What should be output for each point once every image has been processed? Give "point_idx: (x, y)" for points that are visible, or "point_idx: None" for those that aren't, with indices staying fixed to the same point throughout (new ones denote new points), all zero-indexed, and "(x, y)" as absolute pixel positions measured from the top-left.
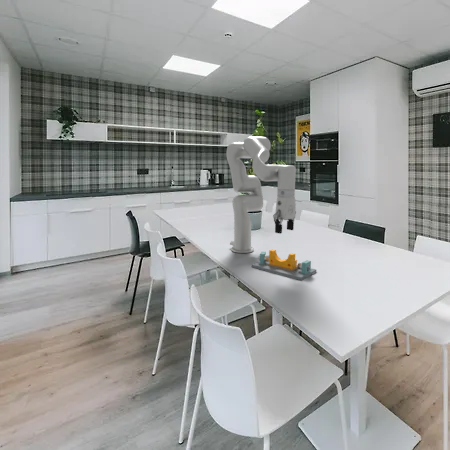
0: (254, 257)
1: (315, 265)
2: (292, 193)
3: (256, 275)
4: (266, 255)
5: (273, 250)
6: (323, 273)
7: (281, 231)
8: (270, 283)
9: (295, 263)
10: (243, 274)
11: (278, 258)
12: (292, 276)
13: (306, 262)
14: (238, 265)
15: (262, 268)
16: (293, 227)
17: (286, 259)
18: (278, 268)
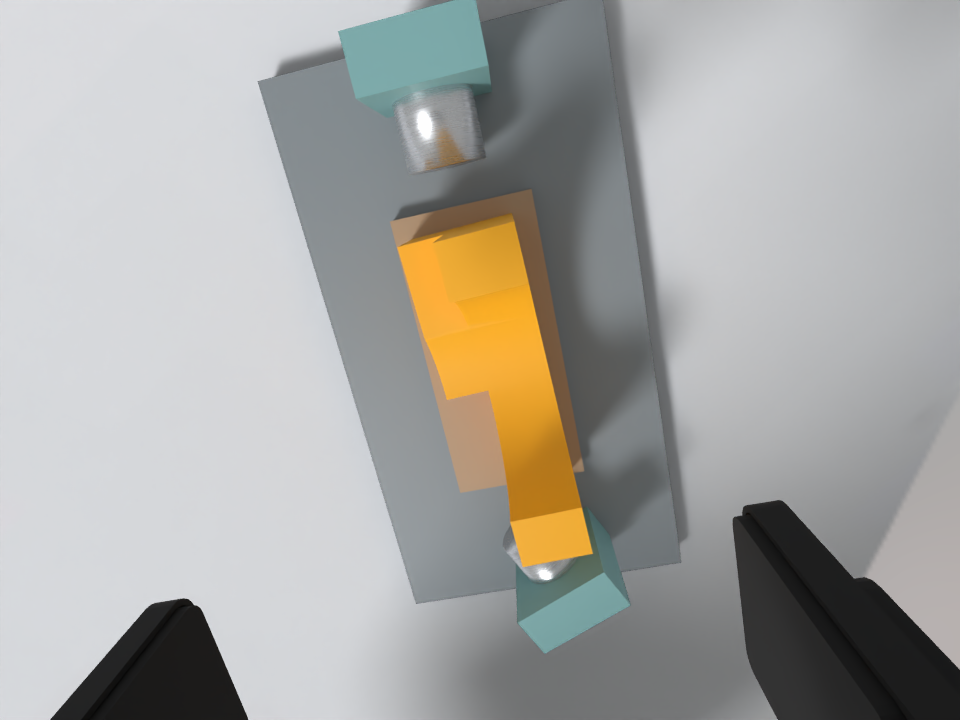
0: (460, 706)
1: (126, 243)
2: None
3: (816, 367)
4: (543, 569)
5: (550, 525)
6: (231, 10)
7: (795, 528)
8: (897, 128)
9: (434, 235)
10: (881, 450)
11: (516, 426)
12: (614, 105)
13: (439, 22)
14: (729, 634)
15: (662, 447)
16: (108, 652)
17: (443, 370)
18: (565, 345)
